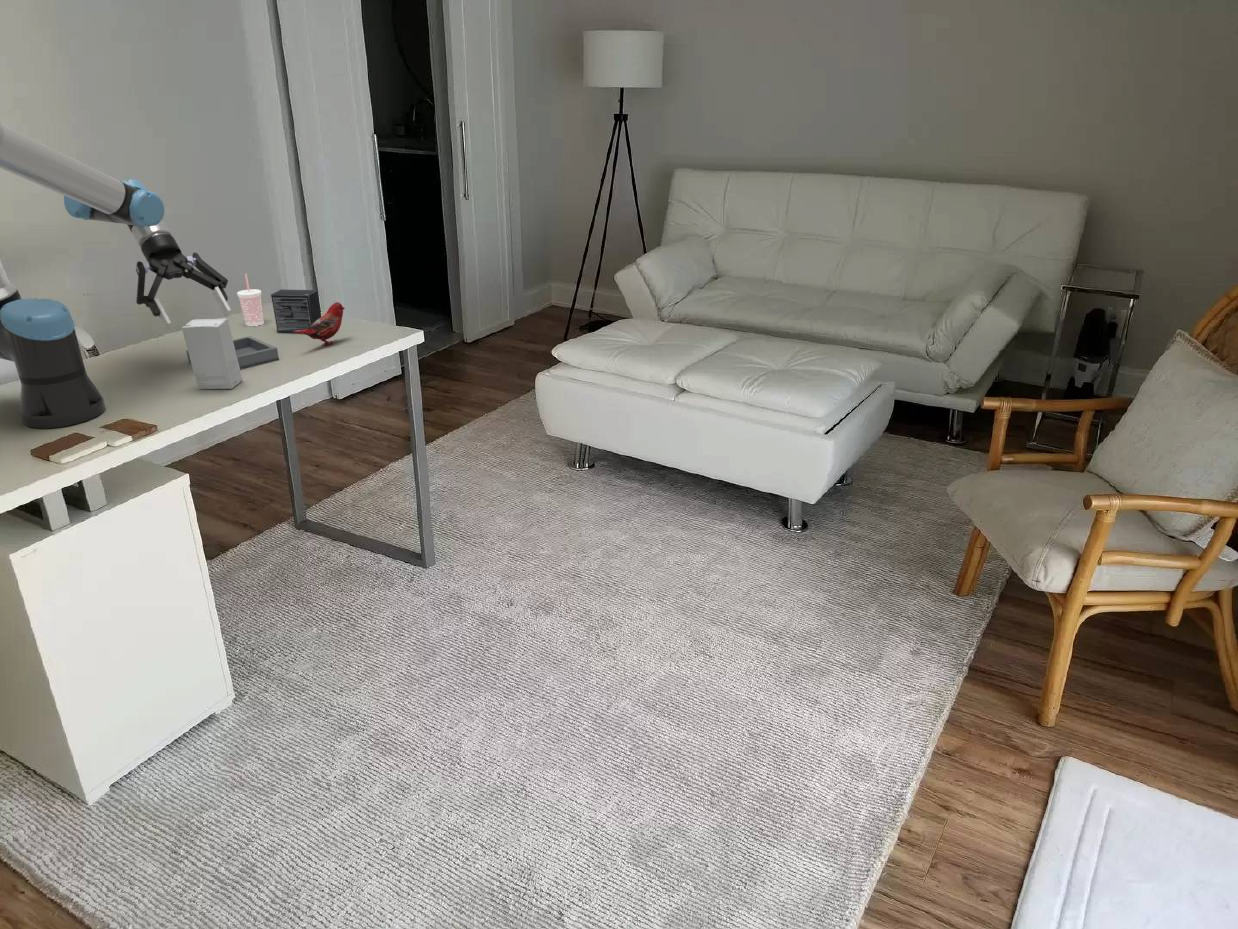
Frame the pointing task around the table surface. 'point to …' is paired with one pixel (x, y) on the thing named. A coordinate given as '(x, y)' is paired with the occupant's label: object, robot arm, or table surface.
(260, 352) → the tray
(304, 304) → the small box
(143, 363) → the table surface
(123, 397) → the table surface
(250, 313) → the beverage cup
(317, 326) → the decorative bird figurine
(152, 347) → the table surface
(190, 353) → the skincare box
